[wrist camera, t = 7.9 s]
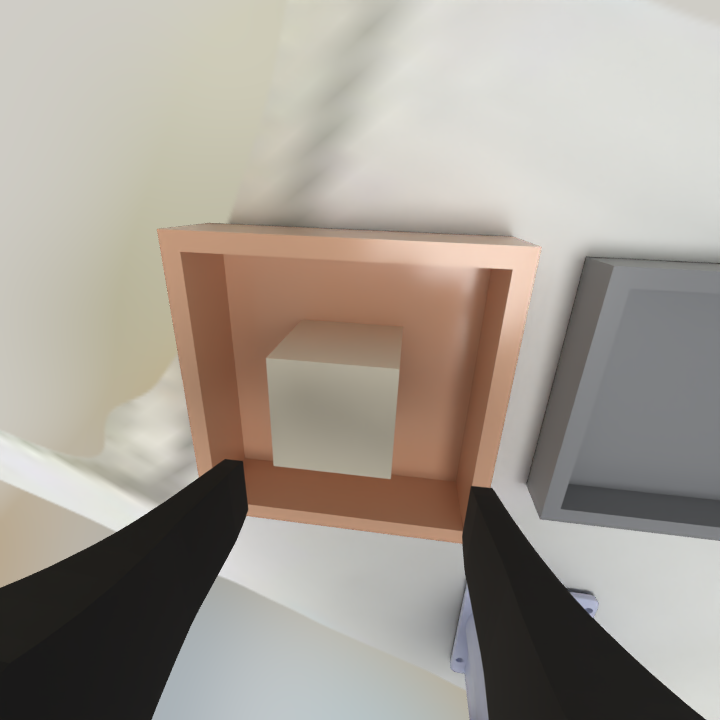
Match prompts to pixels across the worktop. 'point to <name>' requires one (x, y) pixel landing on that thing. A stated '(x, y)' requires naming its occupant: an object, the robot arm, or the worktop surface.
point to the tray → (636, 402)
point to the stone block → (335, 397)
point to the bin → (363, 306)
